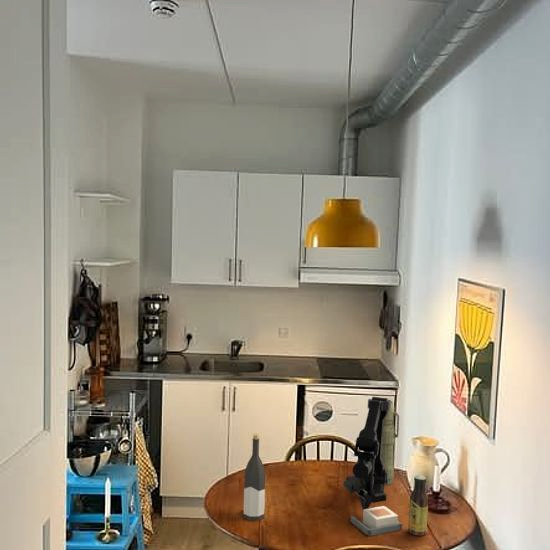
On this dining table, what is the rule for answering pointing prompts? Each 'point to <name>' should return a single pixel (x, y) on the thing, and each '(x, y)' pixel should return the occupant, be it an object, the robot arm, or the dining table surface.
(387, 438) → the thermos
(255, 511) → the wine bottle
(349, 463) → the dining table surface
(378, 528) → the frame
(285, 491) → the dining table surface
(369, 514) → the carton
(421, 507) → the sauce bottle
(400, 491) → the dining table surface
